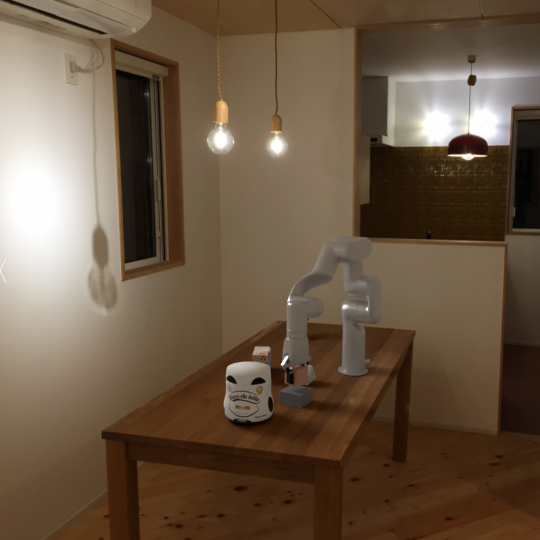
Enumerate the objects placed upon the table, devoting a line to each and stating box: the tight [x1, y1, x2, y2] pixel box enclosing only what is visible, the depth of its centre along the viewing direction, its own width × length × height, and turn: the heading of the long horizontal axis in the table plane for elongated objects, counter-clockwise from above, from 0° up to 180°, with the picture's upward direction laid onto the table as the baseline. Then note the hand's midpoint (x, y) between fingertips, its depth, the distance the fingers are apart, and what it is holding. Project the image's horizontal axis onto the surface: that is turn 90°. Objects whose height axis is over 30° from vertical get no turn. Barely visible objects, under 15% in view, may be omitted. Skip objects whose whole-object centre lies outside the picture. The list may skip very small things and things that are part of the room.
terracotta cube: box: [284, 365, 309, 387], centre depth 233 cm, size 6×6×6 cm
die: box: [304, 364, 317, 387], centre depth 255 cm, size 8×9×10 cm
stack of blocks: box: [251, 346, 272, 370], centre depth 265 cm, size 21×6×12 cm, turn 176°
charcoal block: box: [279, 385, 314, 409], centre depth 234 cm, size 9×9×5 cm
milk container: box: [223, 361, 275, 425], centre depth 218 cm, size 17×17×18 cm
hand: (296, 381), depth 233 cm, fingers closed on terracotta cube, 6 cm apart
